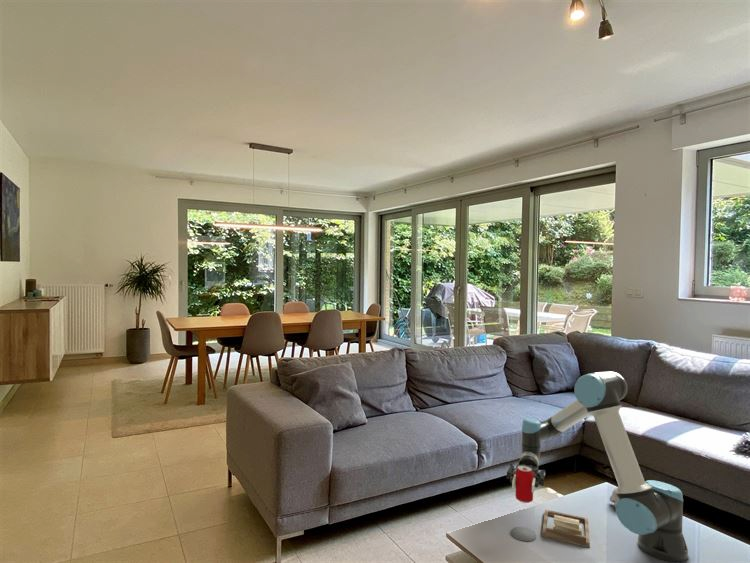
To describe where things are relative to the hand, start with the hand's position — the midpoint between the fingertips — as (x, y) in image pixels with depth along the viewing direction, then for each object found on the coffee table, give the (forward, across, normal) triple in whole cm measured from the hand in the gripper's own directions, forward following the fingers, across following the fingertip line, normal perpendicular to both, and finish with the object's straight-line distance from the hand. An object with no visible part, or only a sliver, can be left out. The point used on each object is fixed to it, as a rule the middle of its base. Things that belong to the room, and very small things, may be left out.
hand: (523, 486), depth 165 cm
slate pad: (-5, 0, -20) cm, 20 cm away
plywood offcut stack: (-11, -15, -20) cm, 28 cm away
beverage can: (-5, 0, -7) cm, 9 cm away
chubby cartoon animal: (-43, -37, -20) cm, 60 cm away
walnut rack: (-16, -14, -20) cm, 30 cm away
